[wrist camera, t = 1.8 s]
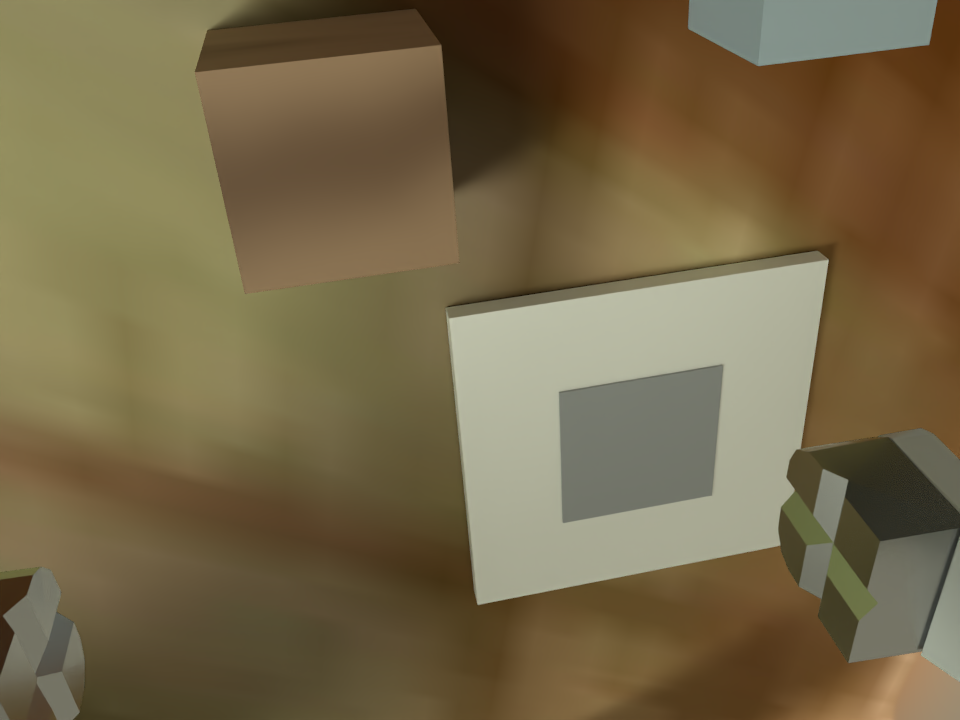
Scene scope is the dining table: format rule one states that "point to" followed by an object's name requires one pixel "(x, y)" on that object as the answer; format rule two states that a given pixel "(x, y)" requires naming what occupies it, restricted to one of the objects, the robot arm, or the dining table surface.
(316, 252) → the walnut block
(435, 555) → the dining table surface
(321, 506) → the dining table surface
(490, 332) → the plate
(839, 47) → the grey cube
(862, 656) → the robot arm
